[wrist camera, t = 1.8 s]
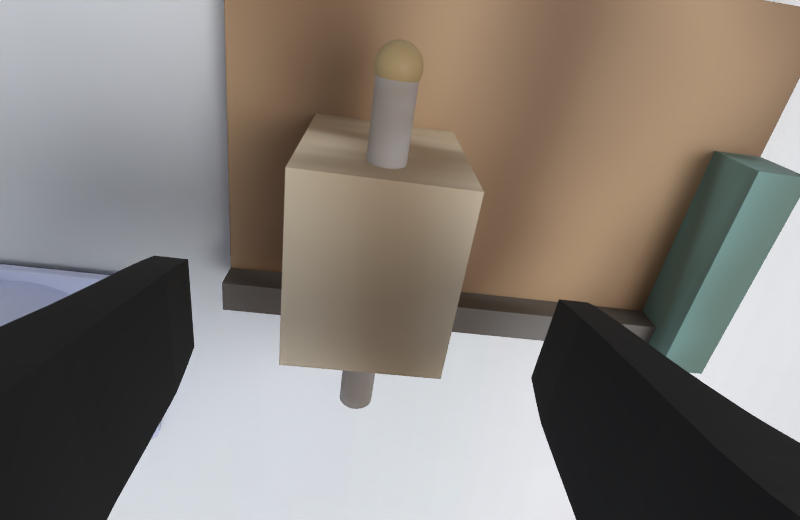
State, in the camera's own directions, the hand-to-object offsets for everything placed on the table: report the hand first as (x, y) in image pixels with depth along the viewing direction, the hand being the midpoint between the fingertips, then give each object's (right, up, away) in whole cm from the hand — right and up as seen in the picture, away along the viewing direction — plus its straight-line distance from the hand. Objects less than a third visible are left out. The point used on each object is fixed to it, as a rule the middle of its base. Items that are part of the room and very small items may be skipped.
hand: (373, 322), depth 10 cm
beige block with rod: (0, +3, +6) cm, 6 cm away
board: (+3, +5, +7) cm, 9 cm away
